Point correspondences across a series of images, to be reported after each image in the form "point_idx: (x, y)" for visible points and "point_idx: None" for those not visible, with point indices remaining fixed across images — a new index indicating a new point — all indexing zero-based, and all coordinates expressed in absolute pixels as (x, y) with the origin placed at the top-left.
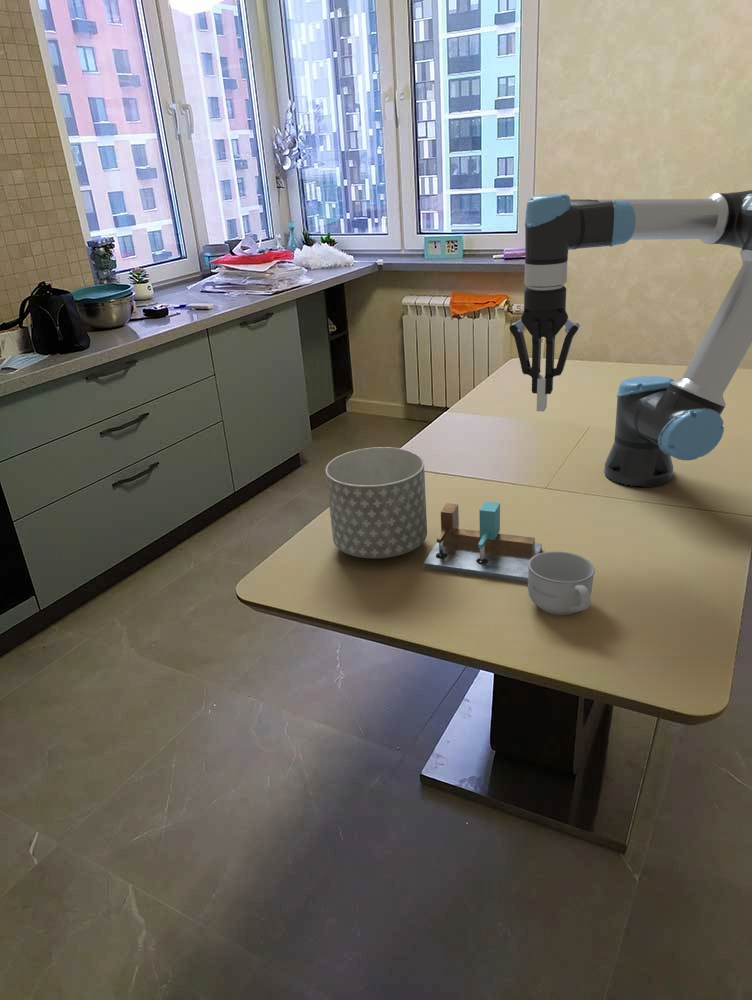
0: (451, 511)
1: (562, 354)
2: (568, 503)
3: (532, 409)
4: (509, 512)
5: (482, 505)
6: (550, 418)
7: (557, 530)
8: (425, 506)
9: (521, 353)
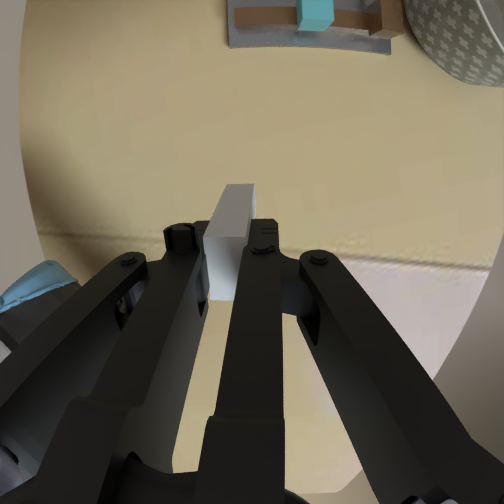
0: (384, 2)
1: (61, 326)
2: None
3: (321, 435)
4: (309, 153)
5: (332, 3)
6: (298, 423)
7: (220, 112)
8: (429, 4)
9: (372, 336)
